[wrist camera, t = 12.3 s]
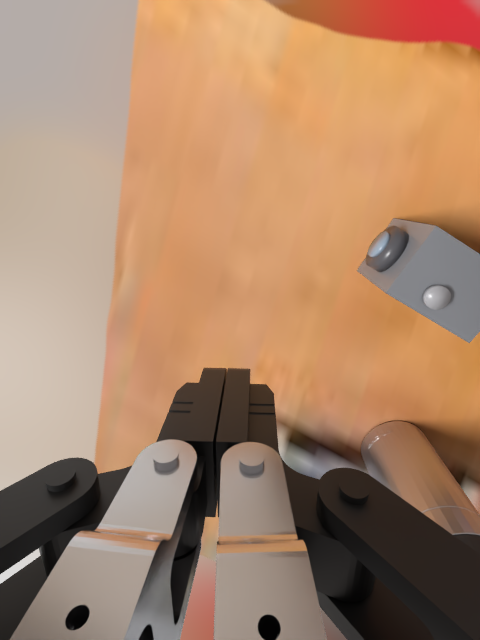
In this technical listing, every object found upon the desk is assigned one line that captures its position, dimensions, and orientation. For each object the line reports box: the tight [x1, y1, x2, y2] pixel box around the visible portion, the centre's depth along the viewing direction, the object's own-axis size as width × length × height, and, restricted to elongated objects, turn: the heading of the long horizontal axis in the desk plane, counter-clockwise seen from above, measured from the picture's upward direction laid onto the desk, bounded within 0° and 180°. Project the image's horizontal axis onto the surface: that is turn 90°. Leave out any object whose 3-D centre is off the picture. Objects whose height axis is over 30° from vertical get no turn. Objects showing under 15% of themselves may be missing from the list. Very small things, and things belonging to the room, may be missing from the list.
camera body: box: [357, 218, 480, 343], centre depth 36 cm, size 13×8×11 cm
